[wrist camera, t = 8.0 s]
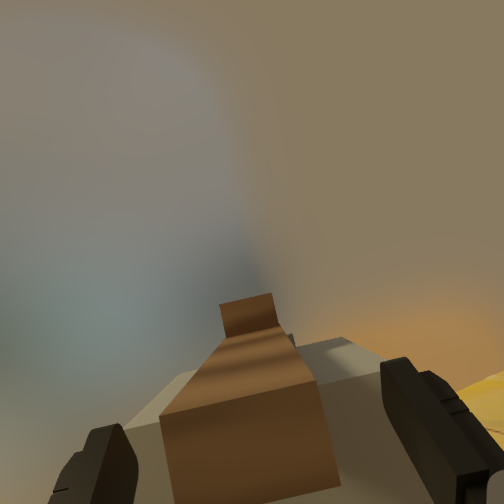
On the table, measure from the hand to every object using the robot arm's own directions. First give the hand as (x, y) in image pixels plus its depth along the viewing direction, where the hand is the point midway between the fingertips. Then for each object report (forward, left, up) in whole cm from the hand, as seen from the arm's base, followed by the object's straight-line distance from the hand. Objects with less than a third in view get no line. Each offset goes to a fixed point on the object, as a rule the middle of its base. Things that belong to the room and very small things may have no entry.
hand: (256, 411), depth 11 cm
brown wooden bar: (+6, +6, -1) cm, 8 cm away
